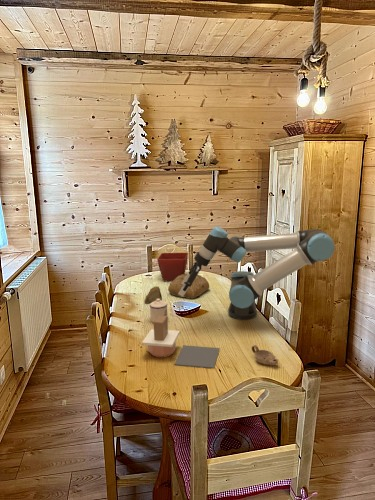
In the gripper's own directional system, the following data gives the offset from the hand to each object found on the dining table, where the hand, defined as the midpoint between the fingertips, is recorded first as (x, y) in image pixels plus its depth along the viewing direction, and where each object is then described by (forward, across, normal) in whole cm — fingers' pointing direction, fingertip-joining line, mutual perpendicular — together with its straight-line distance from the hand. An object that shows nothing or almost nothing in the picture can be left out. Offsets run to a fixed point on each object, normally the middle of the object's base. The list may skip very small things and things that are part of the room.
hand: (182, 289), depth 185 cm
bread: (+17, -44, +10) cm, 48 cm away
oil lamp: (-7, +38, +39) cm, 55 cm away
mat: (+7, +36, +17) cm, 40 cm away
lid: (+11, +32, 0) cm, 33 cm away
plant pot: (+26, -72, -1) cm, 76 cm away
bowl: (+16, +32, +4) cm, 36 cm away
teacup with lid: (+22, -2, -1) cm, 22 cm away
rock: (+27, -27, -7) cm, 39 cm away
